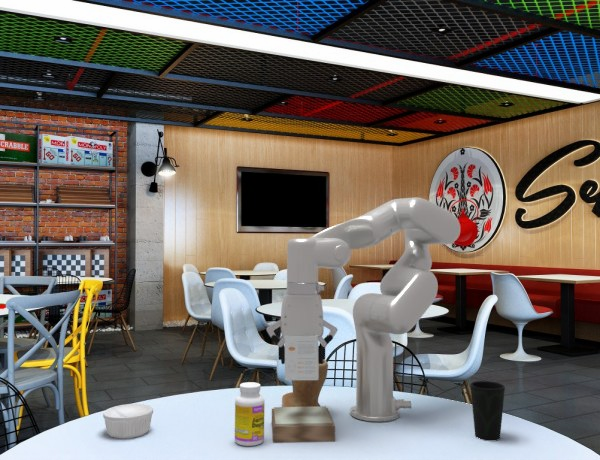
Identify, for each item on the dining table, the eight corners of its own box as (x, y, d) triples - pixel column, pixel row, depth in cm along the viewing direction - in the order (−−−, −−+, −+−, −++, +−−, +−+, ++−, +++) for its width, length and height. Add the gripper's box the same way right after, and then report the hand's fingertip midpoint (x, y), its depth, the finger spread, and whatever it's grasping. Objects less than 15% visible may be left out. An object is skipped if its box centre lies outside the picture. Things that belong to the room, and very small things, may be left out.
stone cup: (329, 420, 145) (330, 361, 146) (283, 420, 145) (283, 361, 145) (324, 403, 161) (324, 349, 161) (281, 403, 160) (282, 349, 160)
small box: (318, 375, 140) (318, 331, 140) (318, 380, 134) (318, 335, 134) (286, 374, 140) (285, 331, 140) (284, 380, 134) (284, 335, 135)
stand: (327, 421, 144) (327, 405, 144) (334, 441, 130) (334, 423, 130) (271, 422, 143) (271, 406, 143) (273, 442, 129) (273, 424, 129)
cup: (487, 444, 129) (487, 390, 129) (463, 434, 135) (463, 383, 136) (512, 439, 132) (512, 386, 132) (487, 429, 139) (487, 379, 139)
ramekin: (92, 437, 132) (93, 414, 132) (123, 422, 143) (123, 401, 143) (133, 443, 128) (133, 419, 129) (161, 428, 139) (162, 406, 139)
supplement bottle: (252, 449, 125) (252, 389, 125) (228, 443, 128) (229, 385, 129) (270, 440, 131) (270, 383, 131) (246, 434, 134) (247, 379, 134)
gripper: (336, 288, 142) (335, 359, 141) (265, 288, 140) (265, 359, 140) (340, 291, 134) (340, 366, 134) (266, 291, 133) (265, 366, 132)
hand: (301, 362), depth 137 cm, fingers closed on small box, 8 cm apart
